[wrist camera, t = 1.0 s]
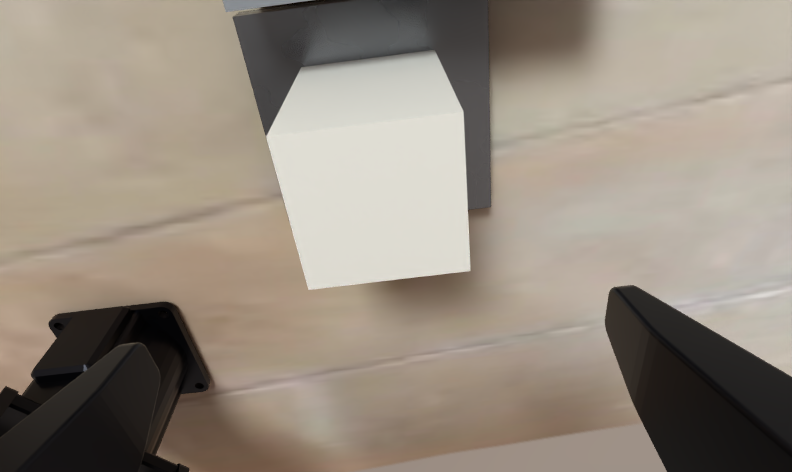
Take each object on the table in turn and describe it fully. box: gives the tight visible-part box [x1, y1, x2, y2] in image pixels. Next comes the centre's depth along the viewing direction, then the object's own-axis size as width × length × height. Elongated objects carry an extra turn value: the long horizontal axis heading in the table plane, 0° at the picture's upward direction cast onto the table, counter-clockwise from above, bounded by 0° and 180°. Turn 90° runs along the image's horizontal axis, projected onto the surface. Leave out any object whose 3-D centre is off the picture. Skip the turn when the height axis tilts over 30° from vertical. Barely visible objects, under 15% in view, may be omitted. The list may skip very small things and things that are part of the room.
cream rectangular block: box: [266, 50, 470, 290], centre depth 17 cm, size 5×5×7 cm
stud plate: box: [233, 0, 491, 229], centre depth 18 cm, size 9×9×5 cm
